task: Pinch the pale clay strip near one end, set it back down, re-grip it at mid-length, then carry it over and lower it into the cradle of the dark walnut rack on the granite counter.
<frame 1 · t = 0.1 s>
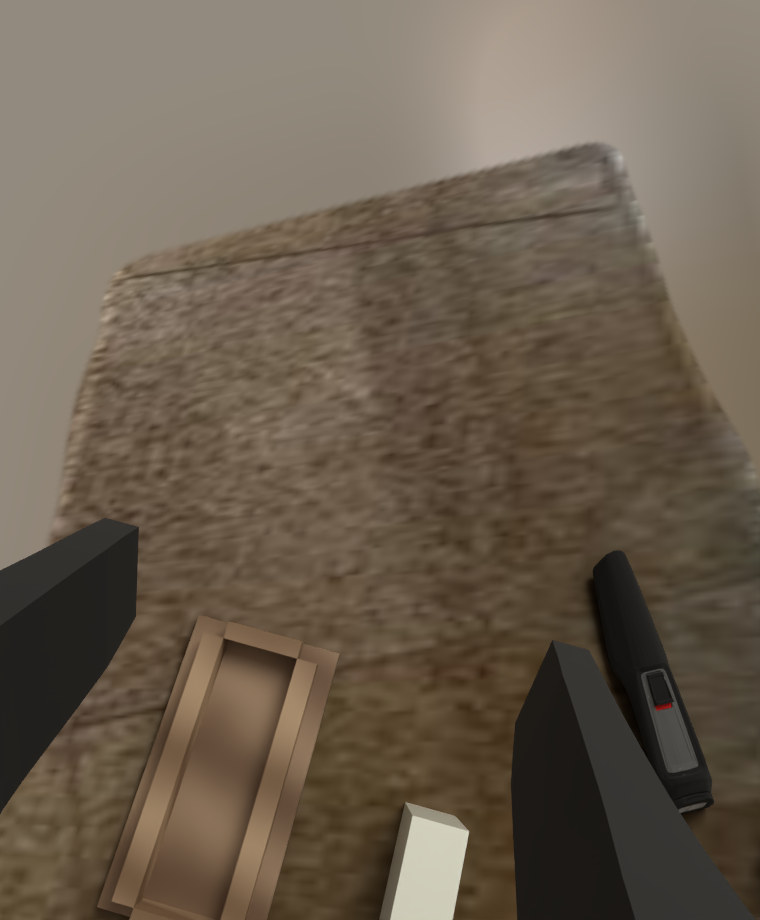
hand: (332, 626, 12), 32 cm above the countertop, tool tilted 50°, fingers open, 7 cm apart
electric trimmer: (635, 685, 43), on the countertop
walnut rack: (228, 770, 40), on the countertop
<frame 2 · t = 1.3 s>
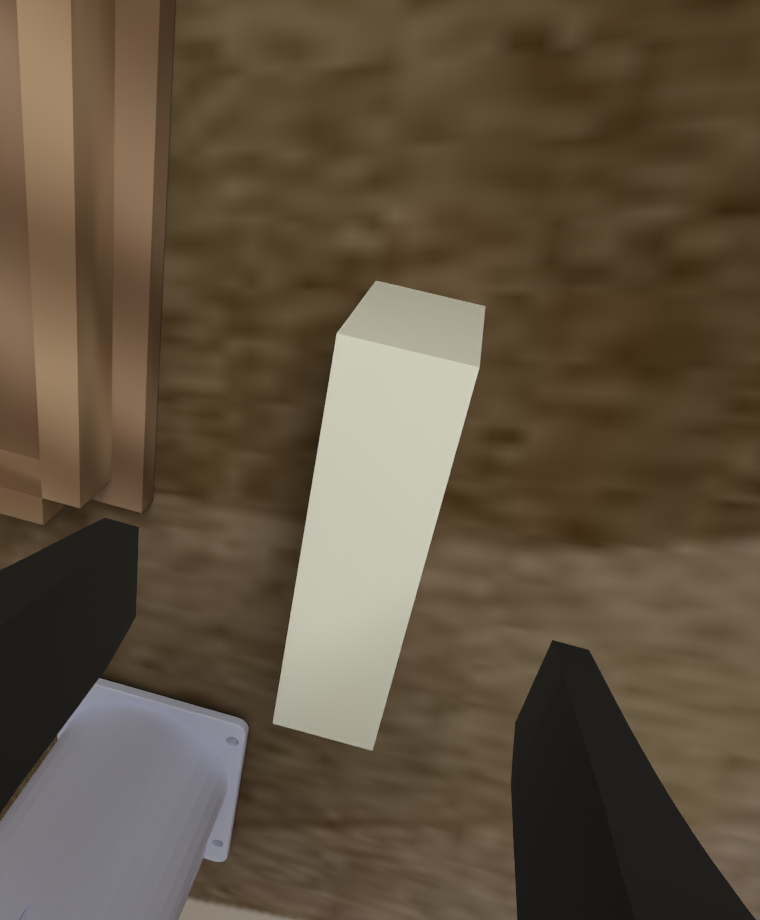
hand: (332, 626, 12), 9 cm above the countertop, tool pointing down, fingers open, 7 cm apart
walnut rack: (11, 225, 19), on the countertop
clay strip: (388, 479, 21), on the countertop
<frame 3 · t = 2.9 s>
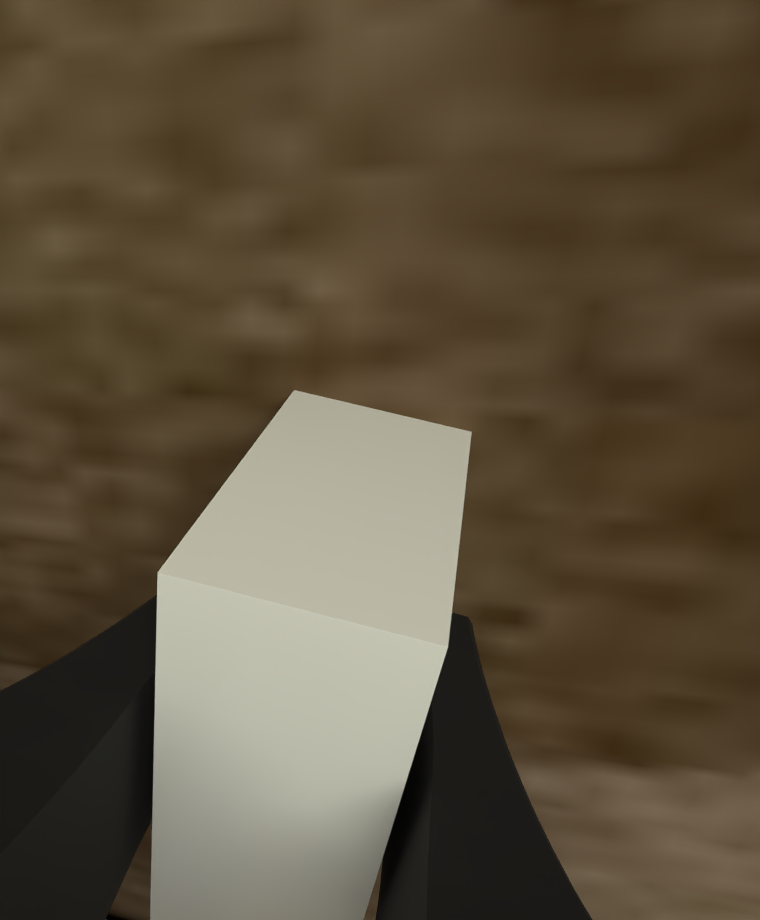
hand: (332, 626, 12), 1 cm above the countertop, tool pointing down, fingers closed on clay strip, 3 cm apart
clay strip: (330, 669, 14), on the countertop, touching gripper
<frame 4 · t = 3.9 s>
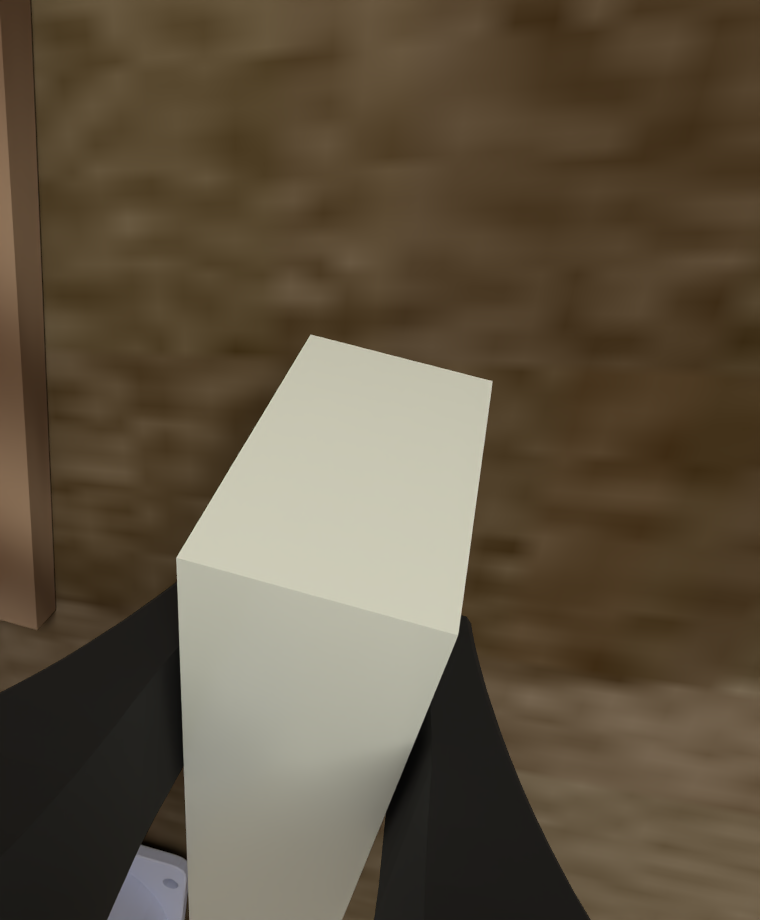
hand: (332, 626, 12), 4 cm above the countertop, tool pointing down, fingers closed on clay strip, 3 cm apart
clay strip: (348, 594, 15), point 1 cm above the countertop, tilted 11°, touching gripper
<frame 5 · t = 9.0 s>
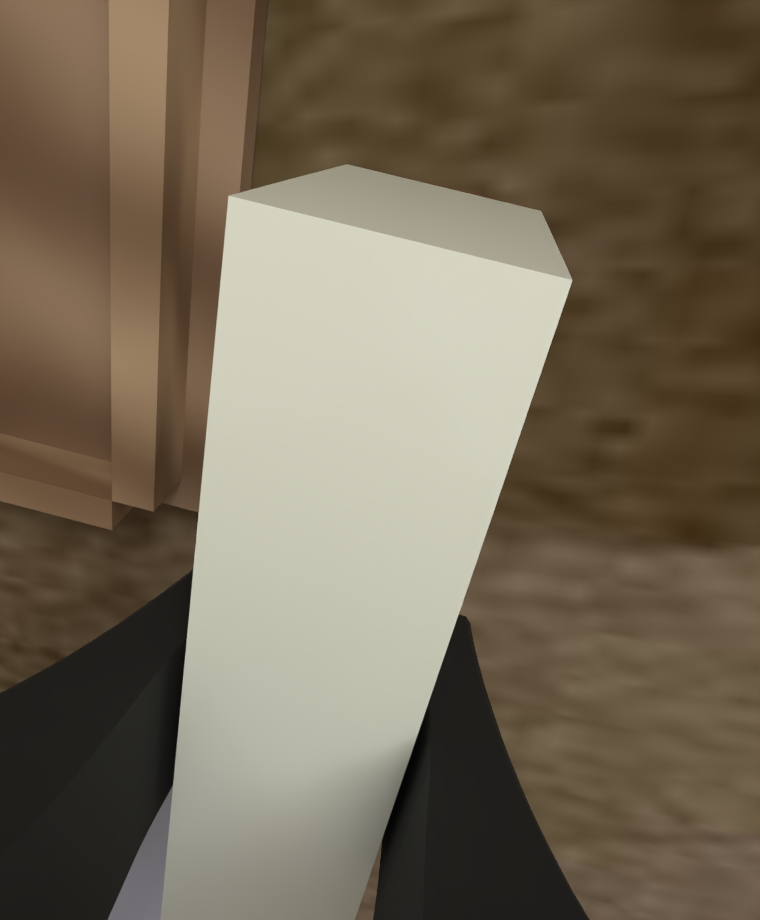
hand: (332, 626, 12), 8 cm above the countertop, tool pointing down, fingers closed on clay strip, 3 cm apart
walnut rack: (79, 205, 17), on the countertop
clay strip: (366, 516, 13), point 6 cm above the countertop, touching gripper
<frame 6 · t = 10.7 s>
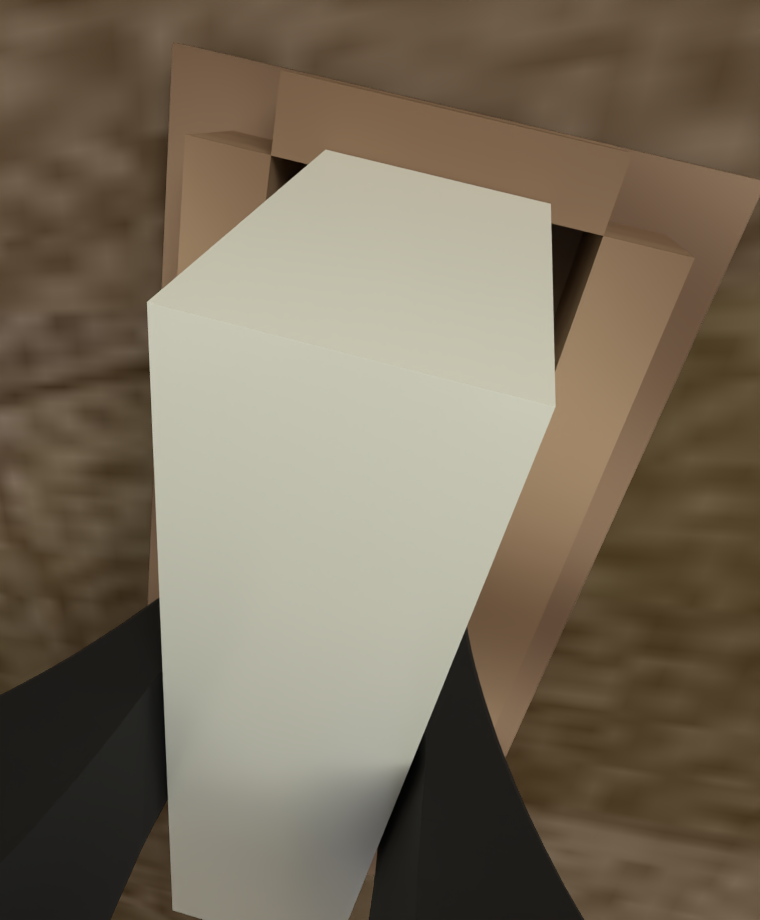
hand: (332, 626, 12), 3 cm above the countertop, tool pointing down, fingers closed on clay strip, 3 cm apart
walnut rack: (368, 520, 15), on the countertop
clay strip: (363, 512, 12), point 2 cm above the countertop, tilted 9°, touching gripper, walnut rack
when the fingers open (3 cm above the countertop, at t = 10.8 s): clay strip stays where it is, resting on walnut rack.
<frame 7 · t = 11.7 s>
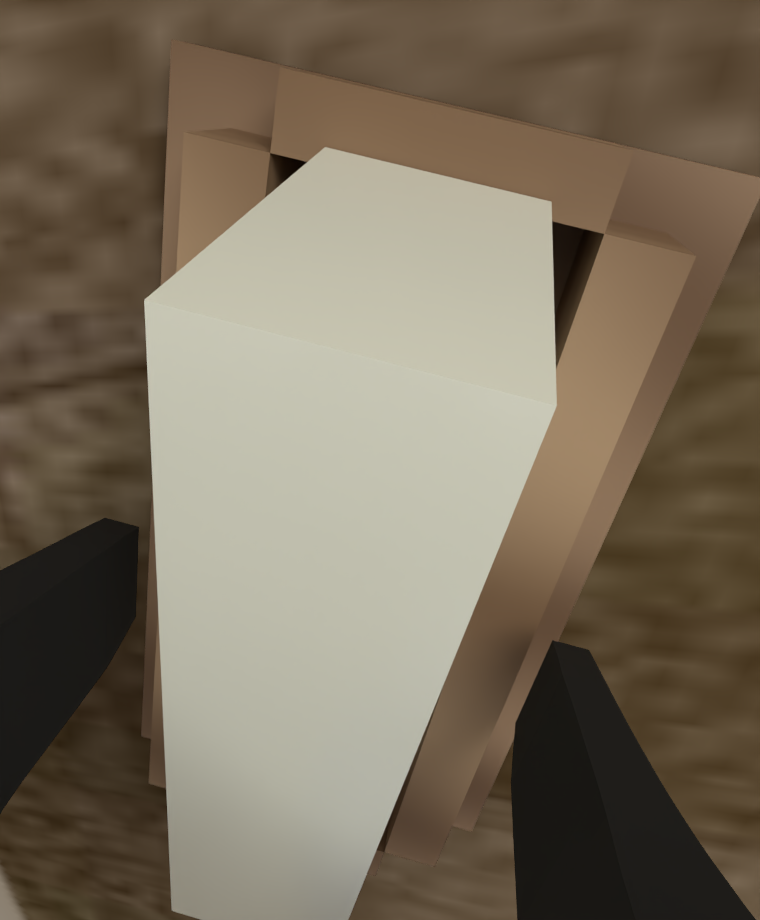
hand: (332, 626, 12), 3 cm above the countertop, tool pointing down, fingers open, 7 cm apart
walnut rack: (368, 519, 14), on the countertop
clay strip: (363, 512, 12), point 2 cm above the countertop, tilted 9°, touching walnut rack
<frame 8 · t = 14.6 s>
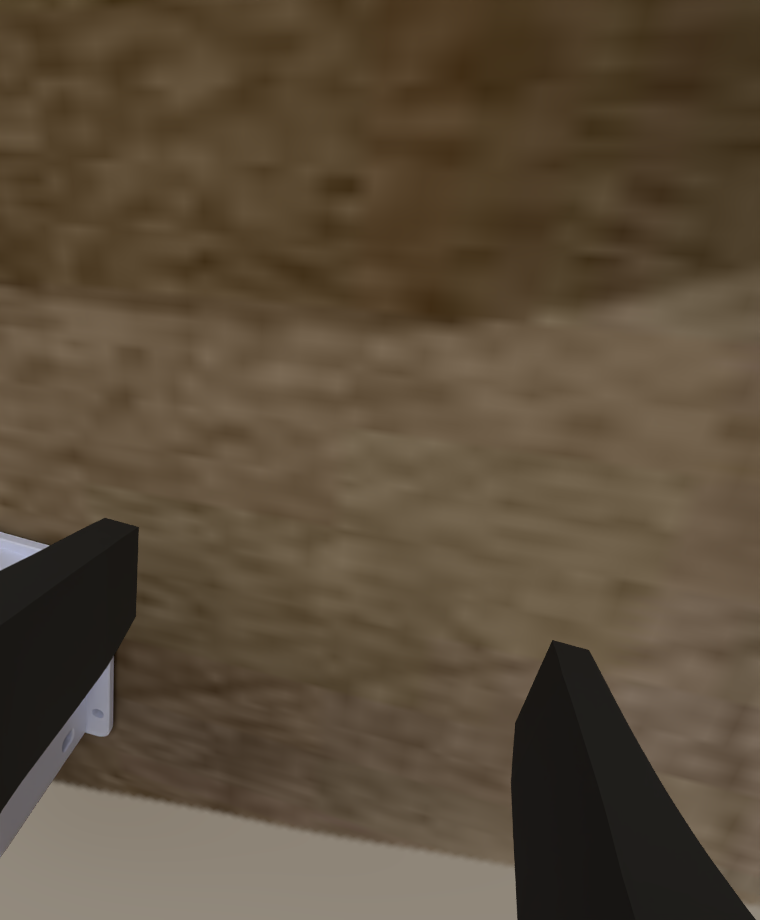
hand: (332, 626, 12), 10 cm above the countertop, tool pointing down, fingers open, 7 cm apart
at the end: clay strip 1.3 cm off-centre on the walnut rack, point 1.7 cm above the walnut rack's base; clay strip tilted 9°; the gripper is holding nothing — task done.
